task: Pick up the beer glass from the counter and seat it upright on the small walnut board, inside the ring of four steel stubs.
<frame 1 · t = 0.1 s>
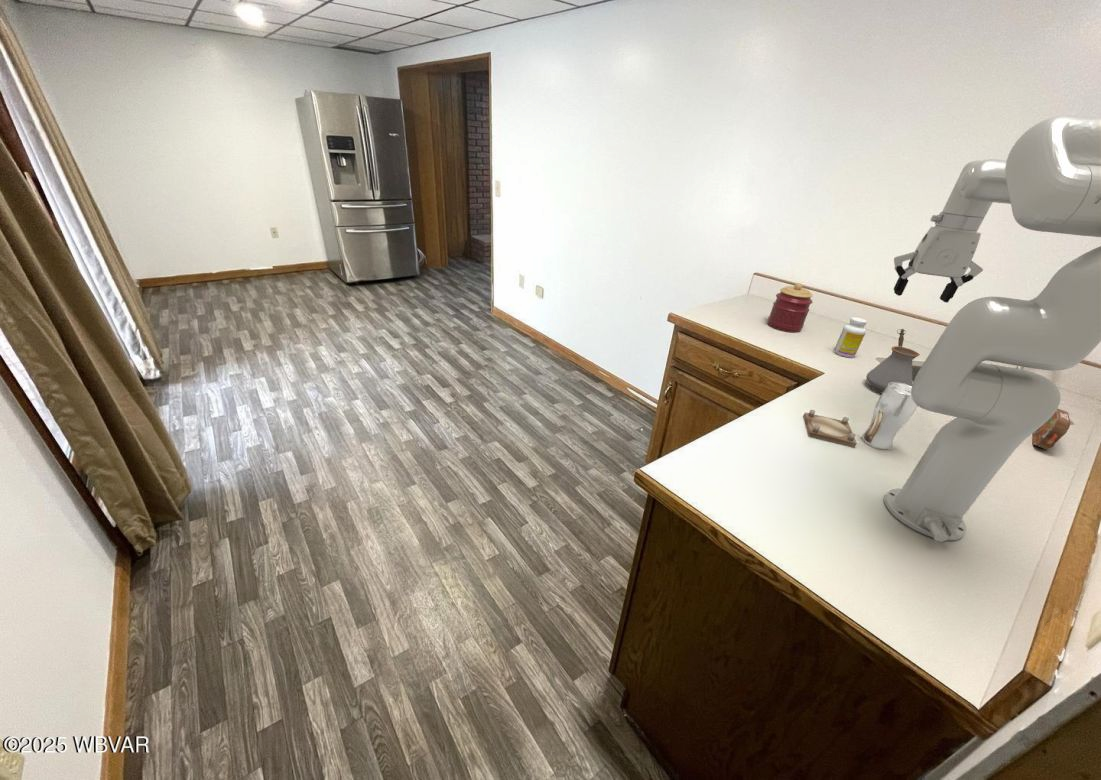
hand: (920, 297, 105), 31 cm above the worktop, tool pointing down, fingers open, 9 cm apart
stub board: (827, 431, 107), on the worktop
coffee pot: (883, 383, 134), on the worktop
canister: (783, 327, 172), on the worktop
brown snack package: (1039, 442, 110), on the worktop
supplement bottle: (843, 354, 152), on the worktop
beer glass: (875, 442, 105), on the worktop
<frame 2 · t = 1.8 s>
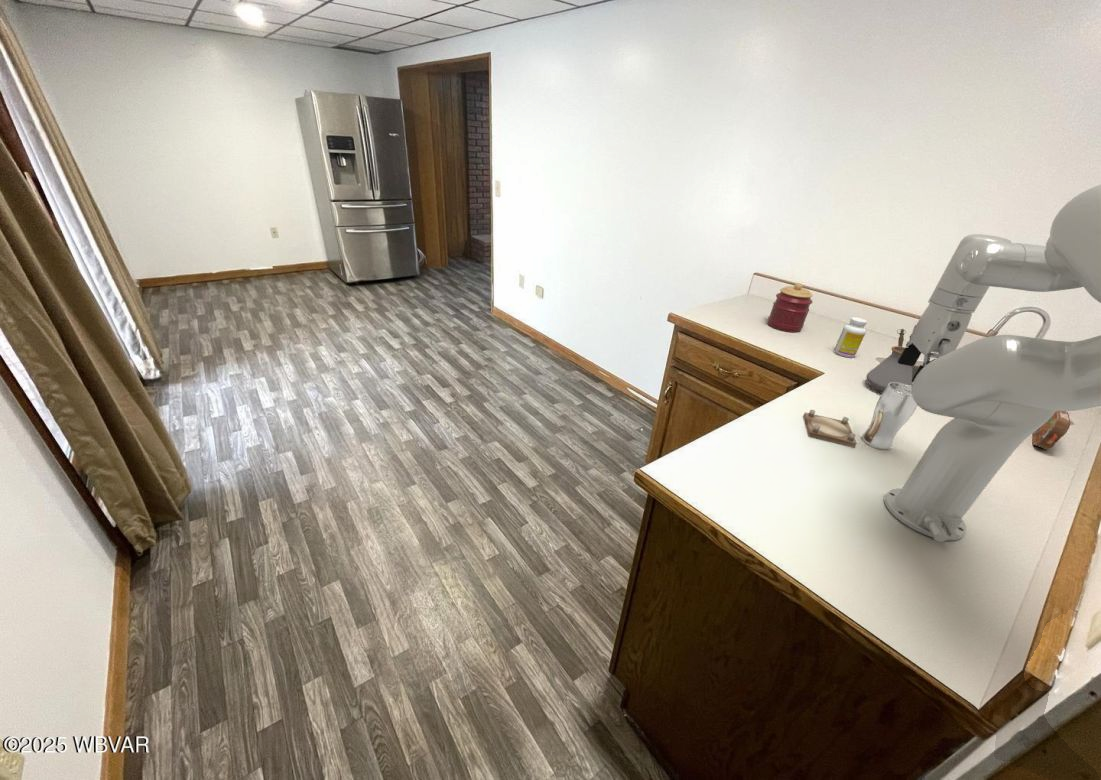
hand: (912, 373, 96), 19 cm above the worktop, tool pointing down, fingers open, 9 cm apart
nothing on the worktop moved.
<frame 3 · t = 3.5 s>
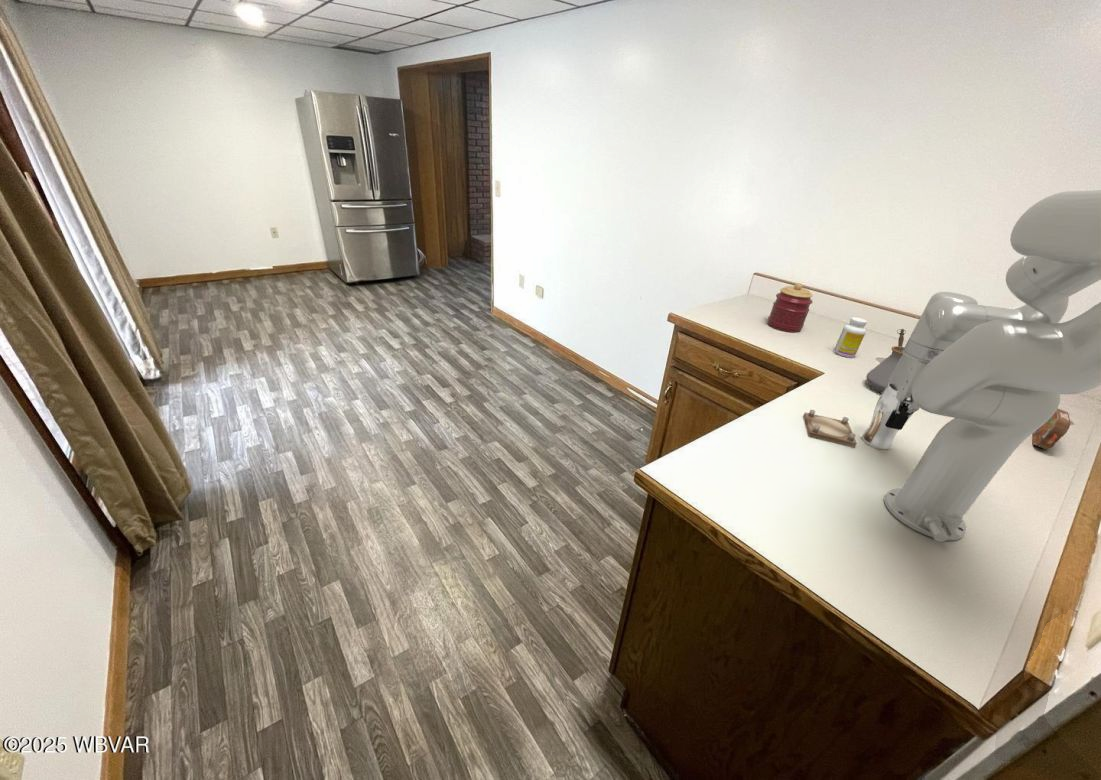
hand: (888, 419, 101), 7 cm above the worktop, tool pointing down, fingers closed on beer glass, 6 cm apart
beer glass: (875, 442, 105), on the worktop, touching gripper
everything else where it was.
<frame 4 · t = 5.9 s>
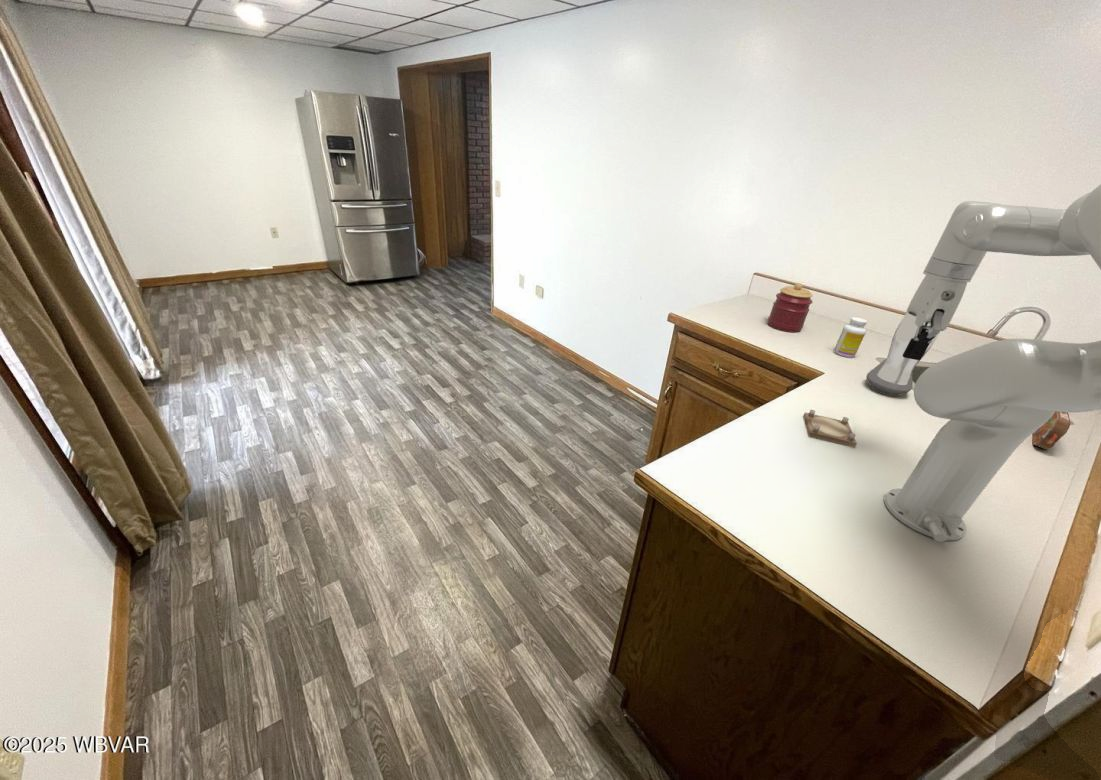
hand: (906, 351, 94), 24 cm above the worktop, tool pointing down, fingers closed on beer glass, 6 cm apart
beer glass: (891, 379, 97), point 17 cm above the worktop, touching gripper
everything else where it was.
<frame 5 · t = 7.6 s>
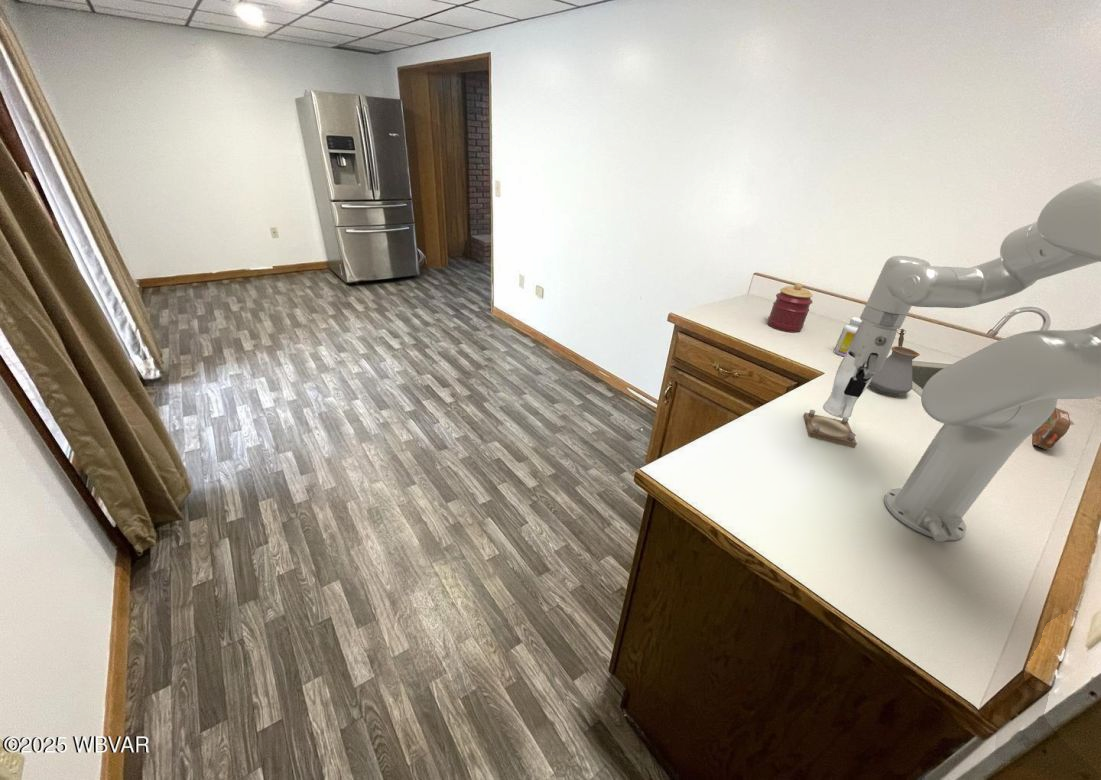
hand: (848, 387, 101), 13 cm above the worktop, tool pointing down, fingers closed on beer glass, 6 cm apart
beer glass: (836, 411, 105), point 6 cm above the worktop, touching gripper
everything else where it was.
when the fingers open (10 cm above the worktop, at t = 8.7 s): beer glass drops 1 cm, resting on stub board.
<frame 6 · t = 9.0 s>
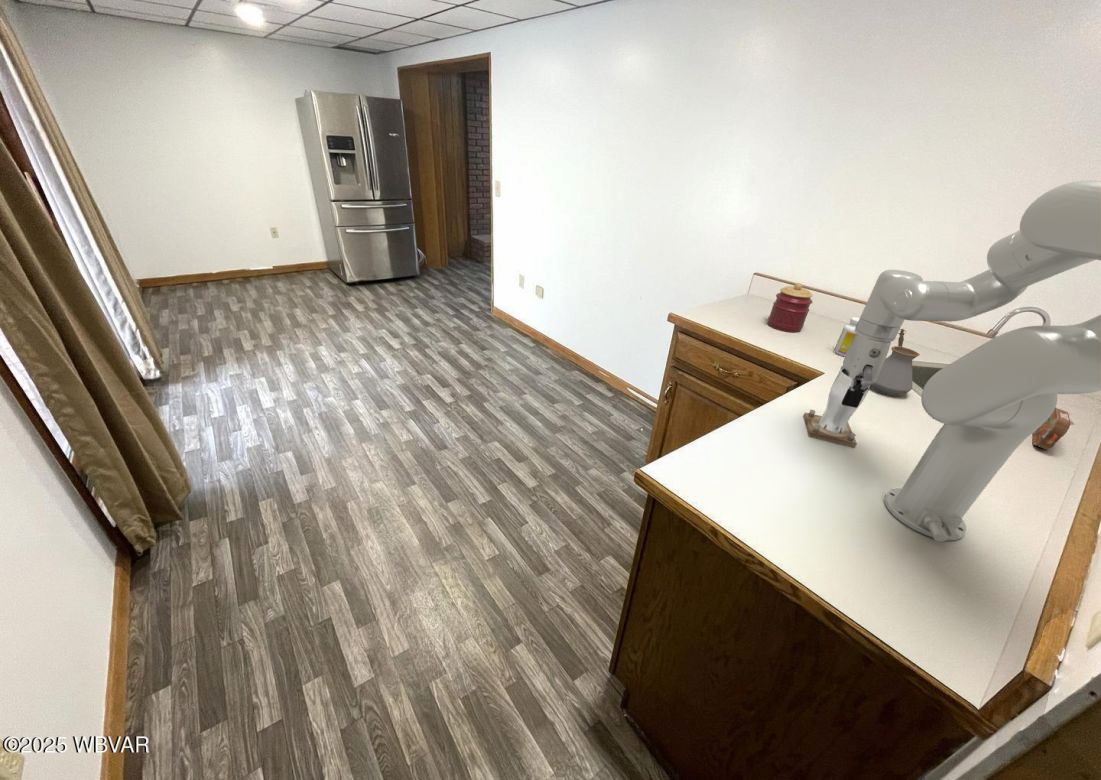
hand: (844, 396, 102), 10 cm above the worktop, tool pointing down, fingers open, 9 cm apart
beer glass: (830, 428, 106), point 1 cm above the worktop, touching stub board
everything else where it was.
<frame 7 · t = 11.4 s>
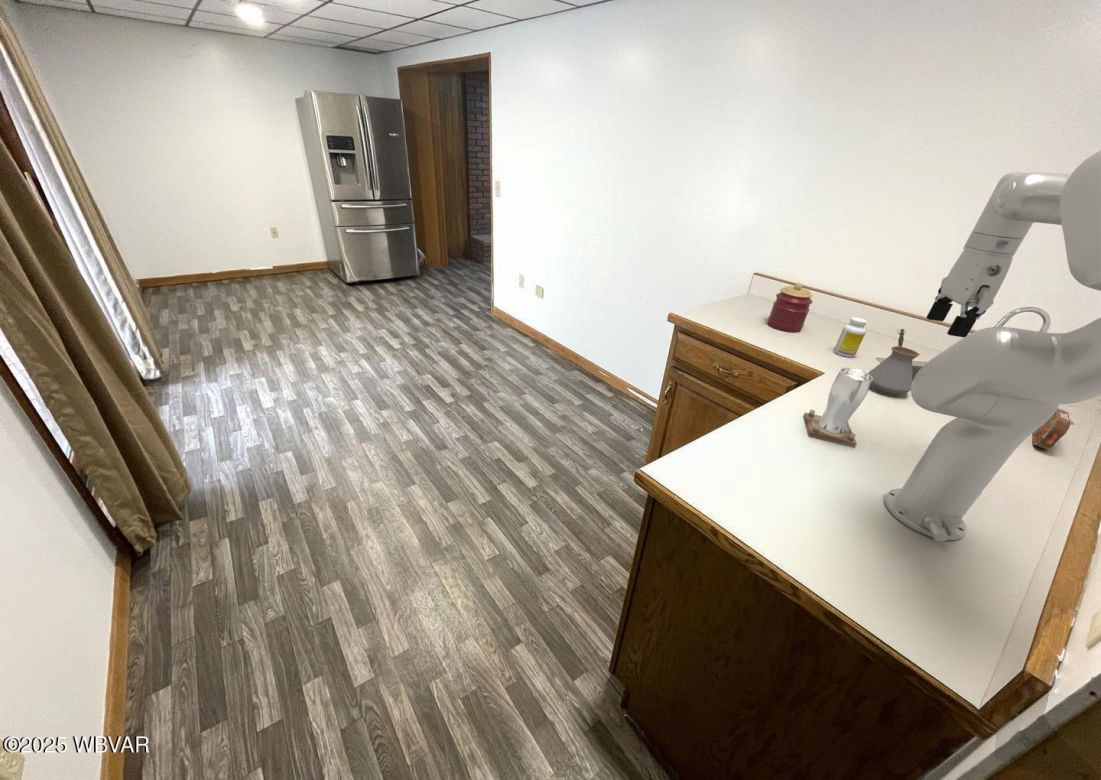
hand: (944, 327, 91), 29 cm above the worktop, tool pointing down, fingers open, 9 cm apart
nothing on the worktop moved.
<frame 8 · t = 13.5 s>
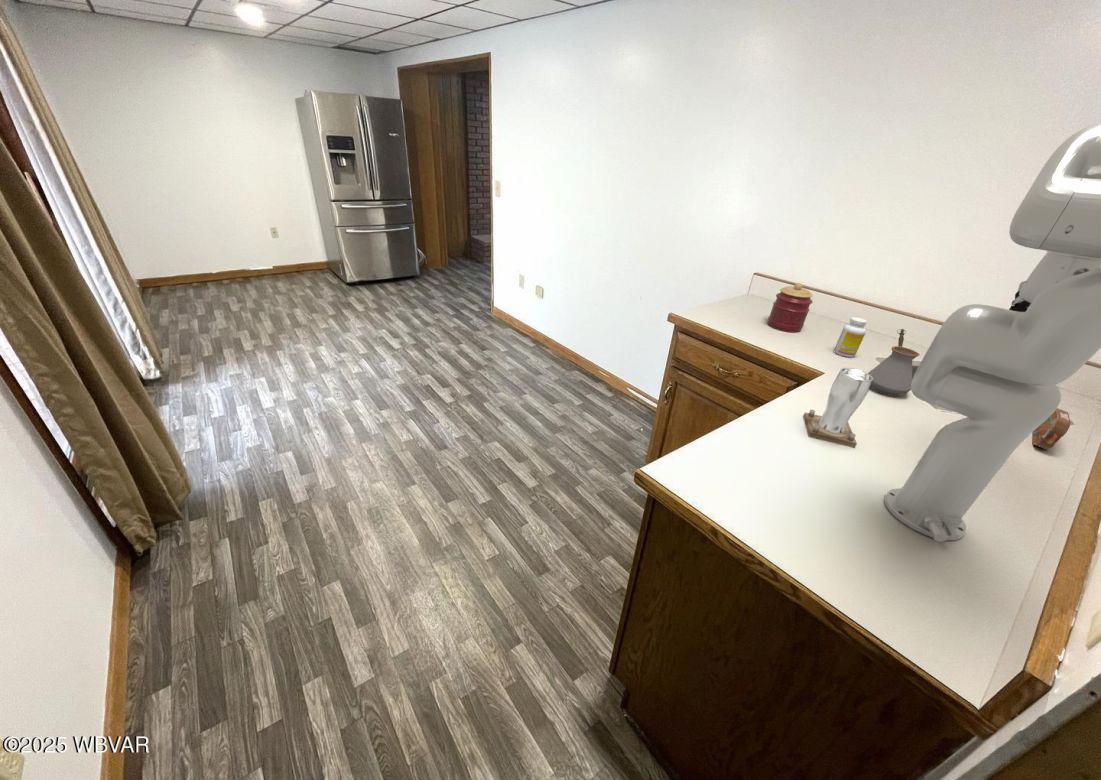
hand: (1022, 332, 89), 30 cm above the worktop, tool pointing down, fingers open, 9 cm apart
nothing on the worktop moved.
at the end: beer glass 0.4 cm off-centre on the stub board, point 1.2 cm above the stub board's base; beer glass tilted 0°; the gripper is holding nothing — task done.
